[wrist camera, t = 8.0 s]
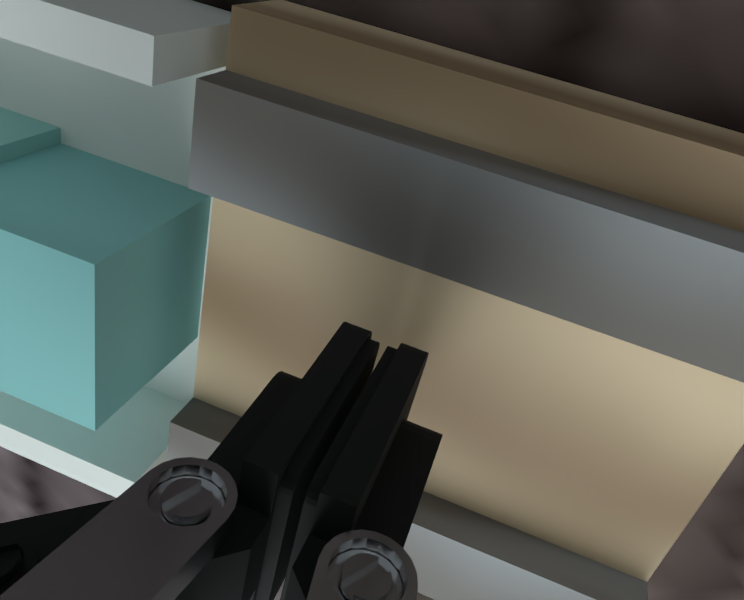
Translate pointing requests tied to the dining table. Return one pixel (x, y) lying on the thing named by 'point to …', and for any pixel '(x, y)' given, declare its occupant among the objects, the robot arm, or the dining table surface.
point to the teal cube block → (94, 280)
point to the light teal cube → (24, 135)
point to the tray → (127, 147)
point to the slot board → (480, 289)
